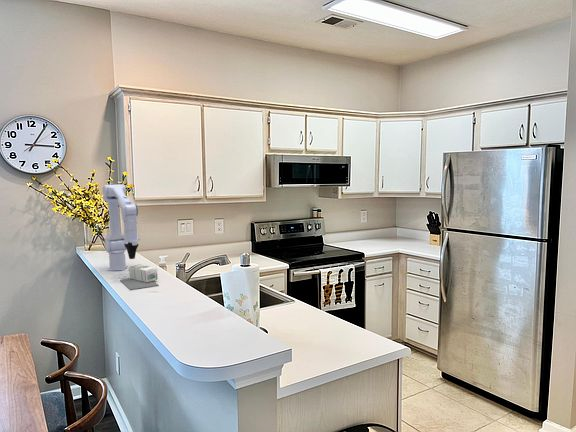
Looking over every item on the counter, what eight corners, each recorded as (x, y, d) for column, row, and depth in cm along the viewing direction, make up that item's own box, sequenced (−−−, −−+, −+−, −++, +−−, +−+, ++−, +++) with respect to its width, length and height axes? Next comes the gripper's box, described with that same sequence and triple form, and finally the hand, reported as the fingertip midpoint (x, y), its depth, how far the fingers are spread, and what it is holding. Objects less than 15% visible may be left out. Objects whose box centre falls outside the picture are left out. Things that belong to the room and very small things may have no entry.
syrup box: (129, 278, 194) (147, 283, 185) (128, 266, 194) (146, 270, 184) (140, 275, 199) (158, 280, 190) (139, 263, 198) (157, 267, 189)
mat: (120, 280, 192) (120, 279, 192) (146, 277, 198) (146, 276, 198) (130, 290, 175) (130, 289, 175) (158, 285, 182) (158, 285, 181)
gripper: (143, 230, 190) (144, 260, 191) (135, 227, 202) (137, 255, 203) (127, 232, 186) (128, 262, 187) (120, 228, 198) (121, 257, 199)
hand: (132, 258), depth 195 cm, fingers closed
